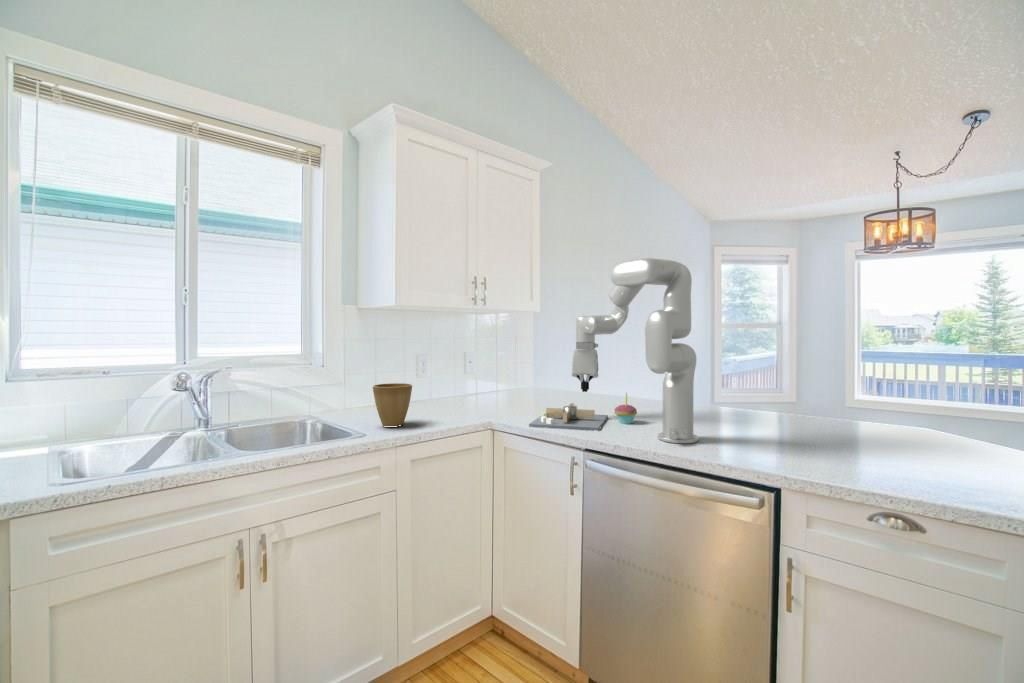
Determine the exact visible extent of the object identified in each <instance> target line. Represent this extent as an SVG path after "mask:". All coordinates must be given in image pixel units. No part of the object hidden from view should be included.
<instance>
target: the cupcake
mask: <svg viewBox="0 0 1024 683" xmlns="http://www.w3.org/2000/svg"><path fill="white" fill-rule="evenodd" d="M614 414H615V415H616V416H617V418H618V421H619V423H620V424H622V425H631V423H632V424H633V422H634V418H635V417H636V415H637V414H638V411H637V408H635V406H633V405H631V404H628V392H626V393H625V402H624V404H620V405H618V406H615V408H614Z"/></svg>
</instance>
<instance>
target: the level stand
mask: <svg viewBox="0 0 1024 683" xmlns="http://www.w3.org/2000/svg"><path fill="white" fill-rule="evenodd" d="M608 417H609V415H608V414H595V419H575V420H569V421H568V422H567V423H565V422H563V419H562V418H556V417H546V411H543V412H541V413H539V414H538V417H537V418H536V419H534V420H532V422H530V423H529V424H528V427H529V428H530V427H531V428H544V427H548V428H547V429H561V430H563V429H564V430H565V429H567V430H578V429H579V431H580V430H581V431H582V430H583V431H594V430H598V431H600V430H601V428H602V426H603V425H604V423H605V422H606V420H608ZM600 427H601V428H600Z"/></svg>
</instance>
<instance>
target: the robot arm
mask: <svg viewBox="0 0 1024 683" xmlns="http://www.w3.org/2000/svg"><path fill="white" fill-rule="evenodd" d="M610 272H611V273H610V280H611V283H612V284H613V285H614V286H613V287H612V288H611V289H610V290H609V293H608V297H609V300H610V301H611V302H612V304H613V305H615V308H614V309H613V310H612V312H610V314H609V315H607V314H605V315H601V314H597V315H595V314H594V315H582V316H581V315H580V316H577V317H576V319H575V320H576V321H575V349H574V350H573V357H572V364H571V365H572V366H571V367H572V368H571V372H572V374H571V377H573V378H577V379H578V380H579V382H580V390H581V391H582V392H583V393H587V392H588V391H589V390H590V381H591V380H592V379H595V378H598V377H599V373H598V372H599V358H598V357H599V356H598V350H597V349H596V348H599V343H596V336H598V335H613V334H614V333H617V332H618V331H619V330H620V329H621V328H622V326H623V325H624V324H625V323H626V320H627V318H628V317H629V312H630V311H629V310H630V309H629V306H630V304H631V302H633V300H634V299H635V297H636V296H637V295H638V294H639V293H640V292H641V290H642V289H643V287H645V285H654V286H666V288H665V291H664V294H663V301H662V302H663V307H662V308H663V309H657V310H654V311H653V312H652V313H650V314H649V315H648V317H647V319H646V322H645V328H644V330H645V331H644V332H645V333H644V335H645V336H644V337H645V362H646V364H647V367H648V369H649V370H650V371H651V372H652V373H654V374H656V375H657V374H658V375H664V378H663V382H662V432H659V433H658V435H657V439H659V440H660V441H663V442H666V443H673V444H694V443H697V442H699V435H696V434H695V433H694V387H695V386H694V385H695V384H694V381H695V380H694V379H695V373H696V372H695V371H696V367H697V354H696V352H695V351H696V350H694V349H693V347H692V346H690V345H689V344H686V343H683V342H675V343H673V342H672V341H673V340H679V339H684V338H687V337H688V336H689V335H690V333H691V331H692V330H691V329H692V296H691V294H692V281H693V280H692V274H691V272H690V269H689V268H688V267H687V266H686V265H685V264H683V263H681V262H678V261H676V260H670V259H663V258H662V259H660V258H653V257H652V258H651V257H648V258H647V257H645V258H639V259H632V260H627V261H622V262H619V263H616V264H615V265H614V266H613V268H612V270H611V271H610ZM585 376H586V379H585Z"/></svg>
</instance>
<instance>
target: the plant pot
mask: <svg viewBox="0 0 1024 683" xmlns="http://www.w3.org/2000/svg"><path fill="white" fill-rule="evenodd" d="M412 389H413V384H412V383H403V382H402V383H400V382H398V383H396V382H395V383H381V384H380V383H379V384H374V385H372V391H373V397H374V398H373V399H374V401H375V402H374V403H375V406H376V411H377V414H378V417H379V420H380V423H381V424H382V427H383V426H399V425H402V424H403V425H404V423H405V420H406V417H407V414H408V410H409V406H410V403H411V397H412V391H413V390H412Z"/></svg>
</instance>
